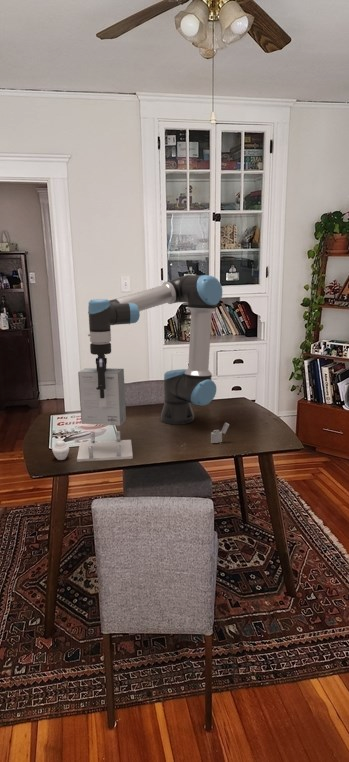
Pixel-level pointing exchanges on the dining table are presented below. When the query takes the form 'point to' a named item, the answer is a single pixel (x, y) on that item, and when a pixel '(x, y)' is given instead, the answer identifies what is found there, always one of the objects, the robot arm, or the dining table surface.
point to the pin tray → (105, 449)
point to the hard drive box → (90, 398)
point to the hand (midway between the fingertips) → (103, 402)
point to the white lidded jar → (60, 450)
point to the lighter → (218, 434)
